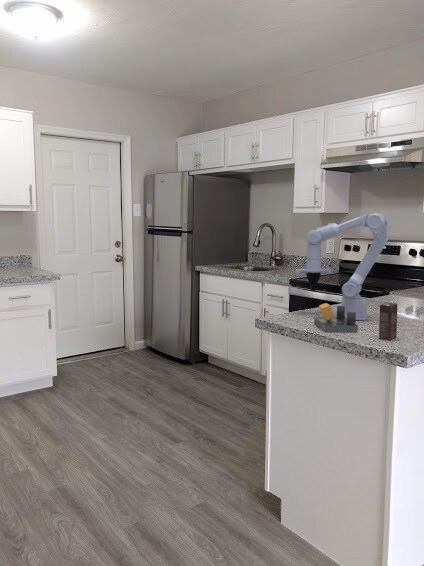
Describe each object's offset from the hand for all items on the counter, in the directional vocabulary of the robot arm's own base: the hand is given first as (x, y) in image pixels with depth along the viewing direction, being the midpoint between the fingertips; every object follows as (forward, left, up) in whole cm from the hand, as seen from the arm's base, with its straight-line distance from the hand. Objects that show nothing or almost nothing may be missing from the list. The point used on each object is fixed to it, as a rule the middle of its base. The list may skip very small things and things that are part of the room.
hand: (312, 290), depth 206 cm
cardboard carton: (0, +24, -8) cm, 25 cm away
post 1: (-6, +18, -8) cm, 21 cm away
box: (-16, +40, -11) cm, 44 cm away
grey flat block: (-2, +24, -10) cm, 26 cm away
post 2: (-6, +30, -8) cm, 32 cm away
